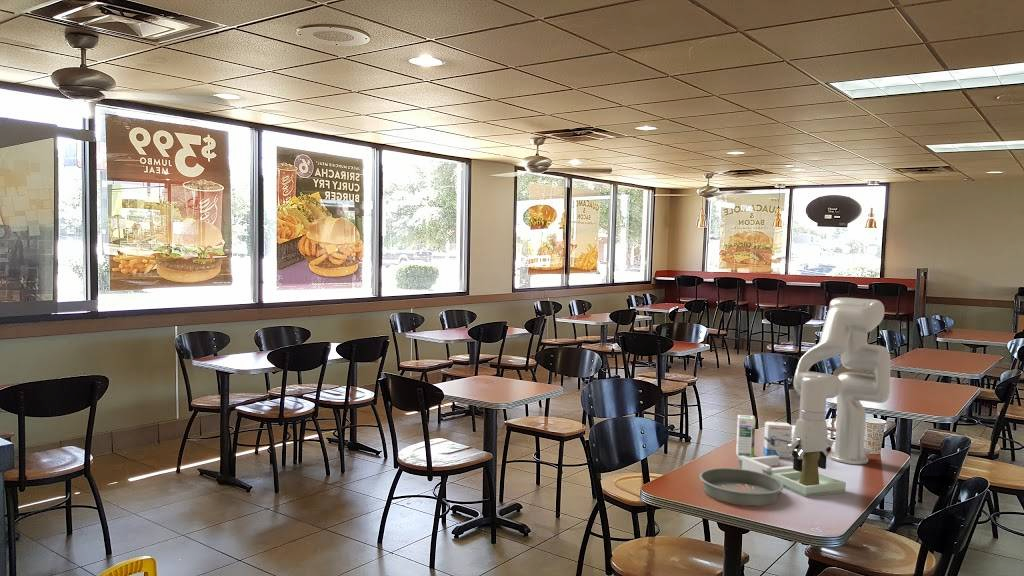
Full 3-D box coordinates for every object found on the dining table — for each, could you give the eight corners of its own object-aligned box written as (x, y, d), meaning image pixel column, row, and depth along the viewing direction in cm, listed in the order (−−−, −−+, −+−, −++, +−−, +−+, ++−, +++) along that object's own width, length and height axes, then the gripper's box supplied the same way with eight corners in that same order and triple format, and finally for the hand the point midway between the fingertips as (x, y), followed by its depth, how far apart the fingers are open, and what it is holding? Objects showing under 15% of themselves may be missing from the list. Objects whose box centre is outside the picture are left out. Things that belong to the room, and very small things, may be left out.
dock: (774, 463, 256) (775, 452, 256) (804, 475, 243) (805, 463, 243) (737, 467, 250) (738, 455, 250) (766, 479, 237) (766, 467, 237)
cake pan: (801, 502, 218) (802, 487, 218) (738, 513, 207) (738, 497, 207) (742, 477, 240) (742, 463, 240) (682, 486, 229) (682, 471, 229)
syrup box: (737, 457, 263) (739, 417, 262) (735, 452, 268) (737, 413, 268) (753, 458, 261) (755, 418, 261) (752, 454, 267) (754, 415, 266)
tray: (811, 478, 241) (811, 469, 240) (845, 491, 228) (845, 482, 227) (772, 482, 235) (773, 473, 234) (805, 497, 222) (805, 487, 221)
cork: (810, 487, 227) (812, 453, 227) (794, 482, 233) (796, 448, 232) (823, 485, 230) (825, 450, 230) (807, 479, 236) (809, 446, 235)
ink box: (766, 456, 265) (768, 424, 264) (762, 452, 270) (764, 421, 269) (790, 458, 264) (792, 426, 263) (787, 454, 269) (788, 422, 268)
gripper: (824, 411, 237) (821, 463, 237) (782, 414, 230) (779, 468, 231) (842, 416, 230) (839, 470, 231) (799, 420, 223) (796, 475, 224)
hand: (809, 469), depth 231 cm, fingers open, 9 cm apart
